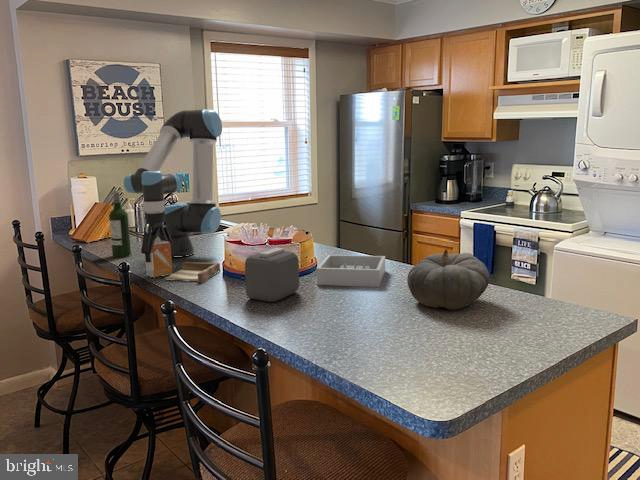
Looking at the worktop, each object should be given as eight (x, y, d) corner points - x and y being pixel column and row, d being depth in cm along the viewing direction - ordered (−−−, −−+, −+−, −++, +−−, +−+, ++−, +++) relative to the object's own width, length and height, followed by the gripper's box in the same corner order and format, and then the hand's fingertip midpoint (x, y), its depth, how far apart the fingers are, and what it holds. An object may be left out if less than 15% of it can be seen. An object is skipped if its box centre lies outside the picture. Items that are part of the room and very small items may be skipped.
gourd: (491, 285, 181) (487, 236, 176) (492, 322, 159) (488, 267, 153) (414, 288, 189) (408, 241, 183) (406, 324, 166) (398, 271, 161)
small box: (154, 278, 210) (151, 245, 208) (146, 276, 215) (143, 243, 212) (173, 274, 215) (170, 242, 213) (165, 272, 220) (162, 240, 218)
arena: (183, 270, 222) (183, 262, 221) (220, 271, 219) (219, 263, 218) (163, 281, 205) (162, 272, 205) (202, 283, 202) (201, 273, 202)
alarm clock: (275, 288, 194) (273, 244, 191) (302, 292, 188) (301, 247, 185) (246, 300, 180) (244, 254, 177) (274, 305, 174) (272, 257, 171)
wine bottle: (109, 257, 249) (102, 191, 244) (120, 253, 257) (114, 189, 251) (124, 258, 247) (117, 191, 241) (134, 254, 254) (129, 189, 249)
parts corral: (328, 269, 218) (328, 254, 217) (385, 271, 214) (385, 256, 213) (316, 284, 197) (316, 268, 196) (379, 286, 192) (379, 270, 191)
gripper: (161, 207, 223) (165, 258, 227) (128, 216, 199) (133, 273, 203) (178, 207, 221) (182, 259, 225) (147, 216, 197) (151, 274, 201)
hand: (158, 266), depth 214 cm, fingers open, 13 cm apart
